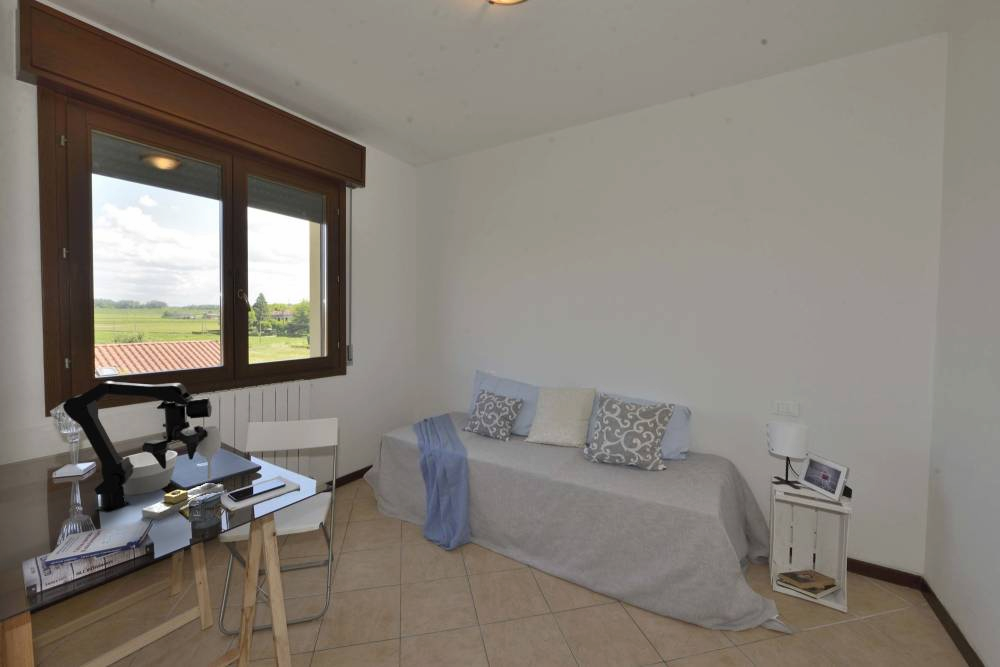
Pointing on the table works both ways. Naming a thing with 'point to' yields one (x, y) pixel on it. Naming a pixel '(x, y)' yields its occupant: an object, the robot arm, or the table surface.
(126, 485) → the bowl
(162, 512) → the rail
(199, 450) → the wineglass
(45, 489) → the table surface
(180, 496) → the nut block
